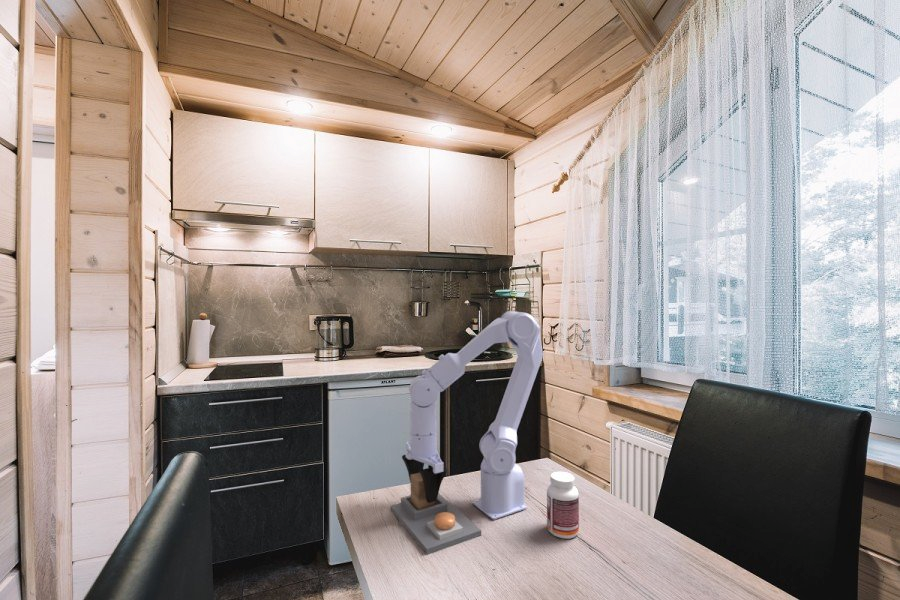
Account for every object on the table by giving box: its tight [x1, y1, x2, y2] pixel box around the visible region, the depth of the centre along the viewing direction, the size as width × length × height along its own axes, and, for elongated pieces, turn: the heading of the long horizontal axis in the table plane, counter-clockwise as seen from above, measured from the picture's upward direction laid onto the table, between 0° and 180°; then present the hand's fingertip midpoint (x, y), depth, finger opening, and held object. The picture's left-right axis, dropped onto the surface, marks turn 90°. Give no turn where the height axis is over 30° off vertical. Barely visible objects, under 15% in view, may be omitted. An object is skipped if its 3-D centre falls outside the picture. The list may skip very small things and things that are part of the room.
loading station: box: [389, 493, 482, 555], centre depth 86 cm, size 12×18×2 cm, turn 30°
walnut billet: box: [410, 473, 435, 511], centre depth 90 cm, size 4×4×7 cm
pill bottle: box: [546, 471, 580, 540], centre depth 83 cm, size 6×6×11 cm
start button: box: [435, 512, 455, 529], centre depth 82 cm, size 4×4×1 cm
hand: (423, 493), depth 90 cm, fingers open, 7 cm apart
